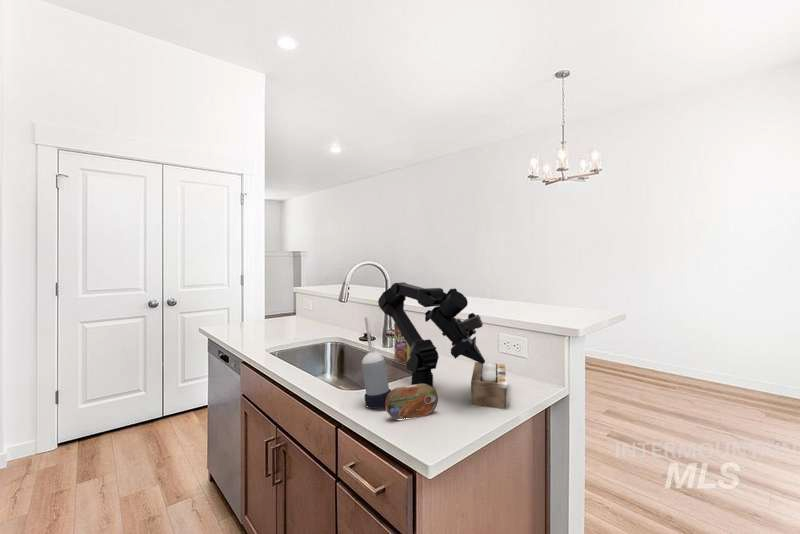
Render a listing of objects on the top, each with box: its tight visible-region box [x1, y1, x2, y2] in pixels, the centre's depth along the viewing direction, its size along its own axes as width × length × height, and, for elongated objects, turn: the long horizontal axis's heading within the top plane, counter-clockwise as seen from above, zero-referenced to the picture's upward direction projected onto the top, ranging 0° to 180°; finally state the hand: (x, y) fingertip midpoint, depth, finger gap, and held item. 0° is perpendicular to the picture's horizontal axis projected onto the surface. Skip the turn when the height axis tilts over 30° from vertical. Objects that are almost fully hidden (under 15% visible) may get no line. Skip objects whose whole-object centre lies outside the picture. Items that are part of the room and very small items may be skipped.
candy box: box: [393, 322, 410, 365], centre depth 153 cm, size 9×4×15 cm, turn 36°
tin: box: [384, 383, 439, 421], centre depth 103 cm, size 15×3×8 cm, turn 114°
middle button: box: [483, 362, 497, 371], centre depth 118 cm, size 4×4×4 cm
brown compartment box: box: [470, 361, 508, 410], centre depth 118 cm, size 10×20×7 cm, turn 166°
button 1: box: [482, 369, 496, 383], centre depth 112 cm, size 4×4×4 cm
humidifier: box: [361, 317, 392, 409], centre depth 110 cm, size 8×8×25 cm
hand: (484, 362), depth 112 cm, fingers closed
